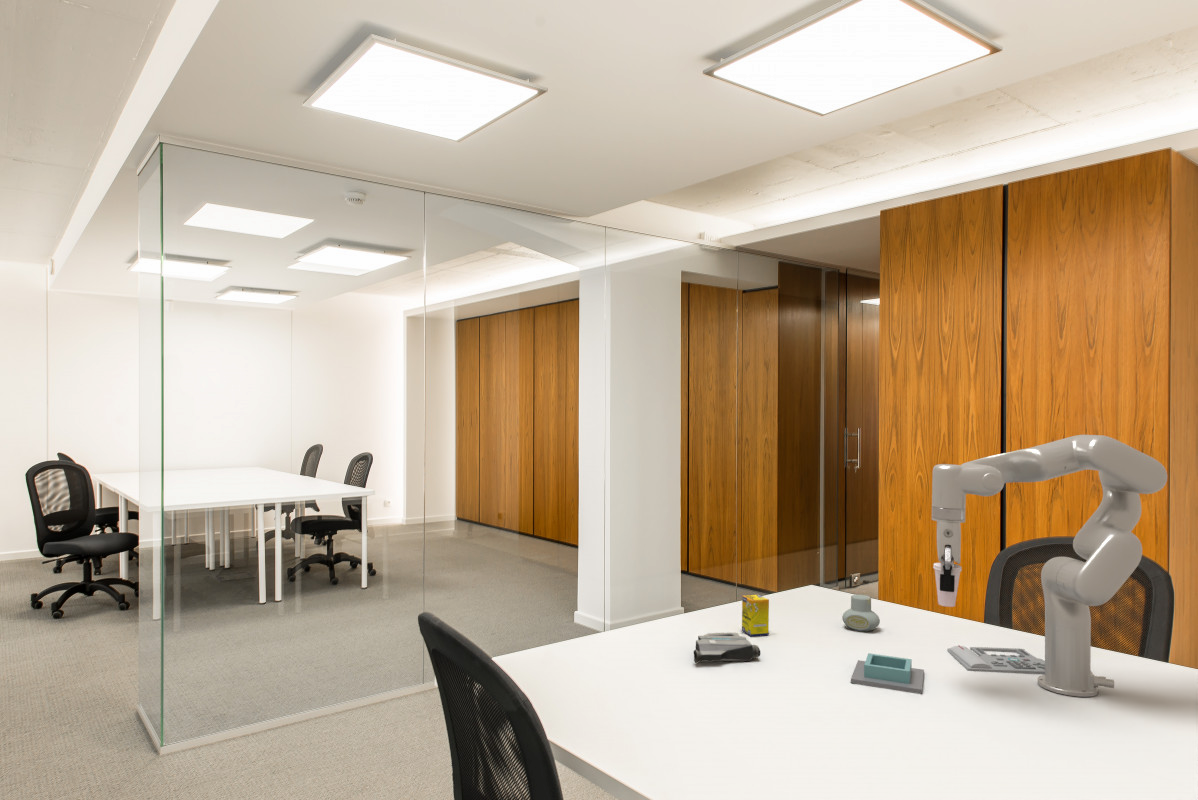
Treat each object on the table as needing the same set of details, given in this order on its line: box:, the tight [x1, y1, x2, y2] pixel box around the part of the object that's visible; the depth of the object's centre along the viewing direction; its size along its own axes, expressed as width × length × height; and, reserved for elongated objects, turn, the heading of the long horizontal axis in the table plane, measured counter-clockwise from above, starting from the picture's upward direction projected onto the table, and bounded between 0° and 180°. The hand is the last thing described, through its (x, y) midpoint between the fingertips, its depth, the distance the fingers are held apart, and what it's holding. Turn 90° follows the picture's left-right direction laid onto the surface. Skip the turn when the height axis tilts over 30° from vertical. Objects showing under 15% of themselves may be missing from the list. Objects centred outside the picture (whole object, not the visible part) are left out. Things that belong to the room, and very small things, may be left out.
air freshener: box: [841, 594, 881, 633], centre depth 234 cm, size 11×8×10 cm
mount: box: [850, 653, 925, 695], centre depth 190 cm, size 16×16×4 cm
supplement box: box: [741, 594, 770, 638], centre depth 227 cm, size 6×6×11 cm
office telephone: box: [947, 644, 1045, 675], centre depth 205 cm, size 23×3×20 cm
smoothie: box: [932, 562, 963, 608], centre depth 185 cm, size 6×6×14 cm
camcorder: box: [693, 632, 761, 664], centre depth 206 cm, size 16×20×5 cm
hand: (946, 587), depth 185 cm, fingers closed on smoothie, 6 cm apart
